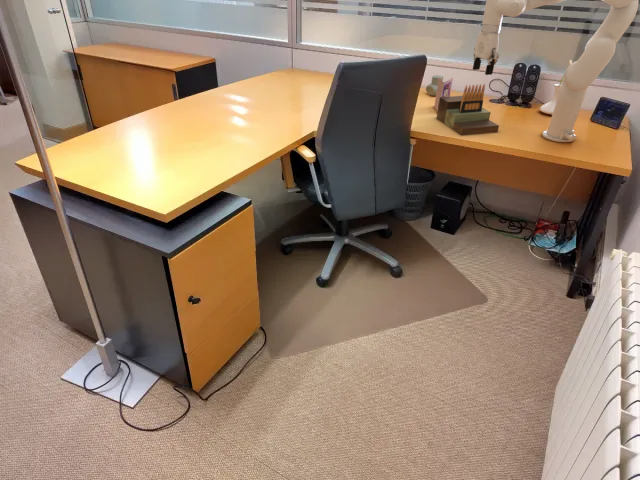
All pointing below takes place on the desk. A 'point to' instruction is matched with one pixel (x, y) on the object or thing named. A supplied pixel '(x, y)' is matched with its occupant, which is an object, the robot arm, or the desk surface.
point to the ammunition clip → (472, 99)
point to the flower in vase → (550, 106)
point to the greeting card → (442, 91)
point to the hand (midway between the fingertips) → (482, 72)
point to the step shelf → (464, 117)
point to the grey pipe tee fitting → (433, 85)
